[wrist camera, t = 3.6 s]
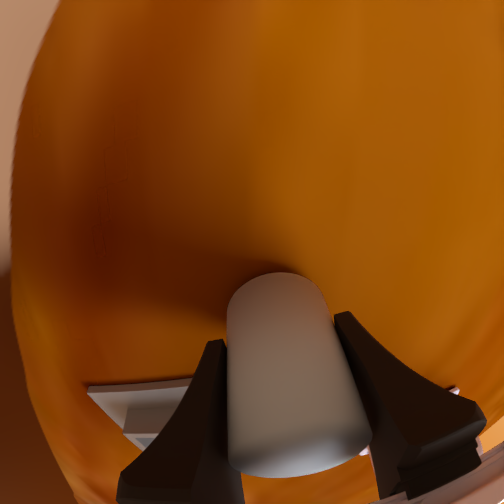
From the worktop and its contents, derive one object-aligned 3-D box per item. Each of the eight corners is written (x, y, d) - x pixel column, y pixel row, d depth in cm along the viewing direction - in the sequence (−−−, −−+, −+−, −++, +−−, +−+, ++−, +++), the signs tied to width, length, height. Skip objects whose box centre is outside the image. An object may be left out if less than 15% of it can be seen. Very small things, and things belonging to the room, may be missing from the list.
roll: (319, 261, 13) (379, 403, 7) (327, 335, 15) (366, 459, 9) (214, 285, 13) (207, 438, 7) (240, 354, 15) (247, 483, 9)
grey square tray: (261, 366, 17) (266, 403, 15) (289, 445, 23) (292, 470, 21) (88, 386, 18) (79, 416, 15) (161, 456, 23) (159, 480, 21)
